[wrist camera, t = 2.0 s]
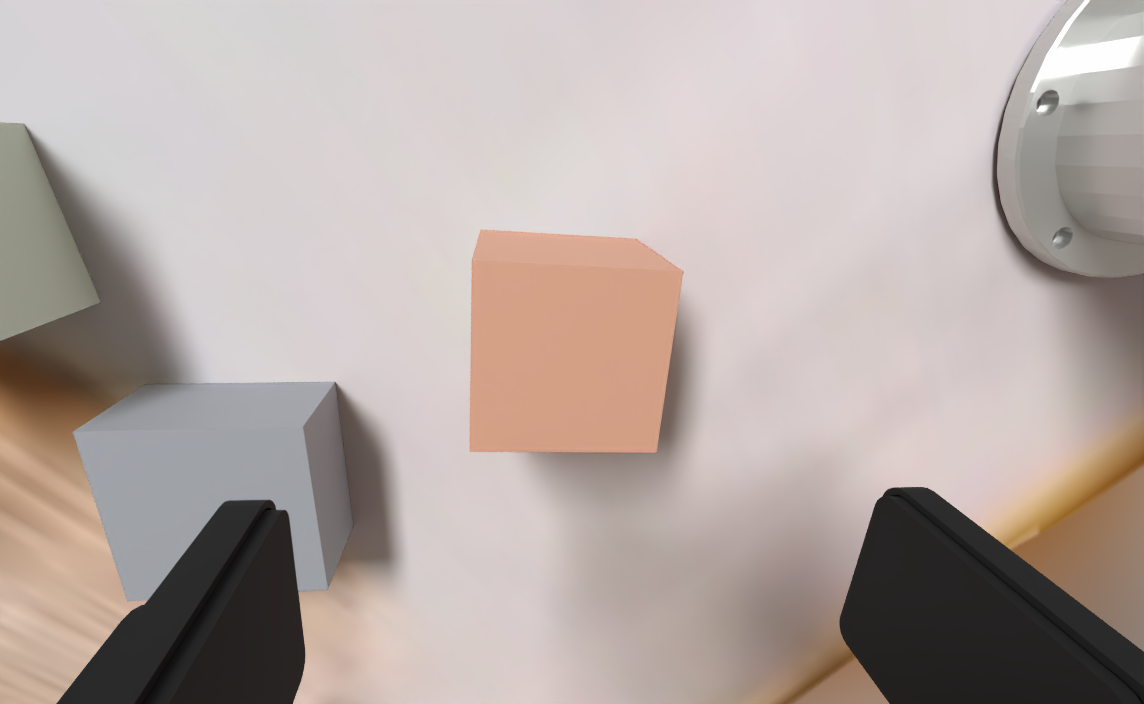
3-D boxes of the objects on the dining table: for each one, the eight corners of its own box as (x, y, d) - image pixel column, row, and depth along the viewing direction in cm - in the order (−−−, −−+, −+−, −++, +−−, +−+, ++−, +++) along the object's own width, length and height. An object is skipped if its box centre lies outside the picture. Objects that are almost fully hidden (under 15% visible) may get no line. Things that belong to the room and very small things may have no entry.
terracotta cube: (636, 238, 21) (683, 271, 16) (619, 379, 23) (656, 452, 18) (480, 229, 20) (472, 260, 15) (478, 376, 22) (469, 451, 17)
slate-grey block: (336, 379, 22) (302, 426, 18) (354, 522, 24) (327, 589, 21) (148, 381, 21) (72, 431, 17) (186, 529, 23) (127, 601, 20)
